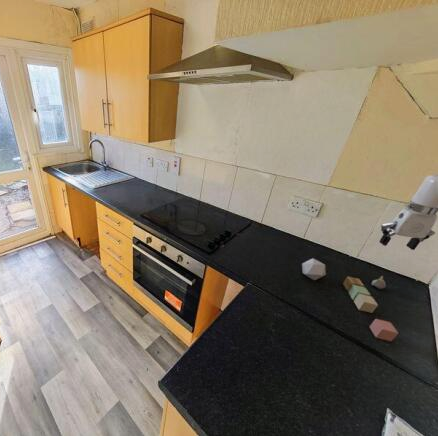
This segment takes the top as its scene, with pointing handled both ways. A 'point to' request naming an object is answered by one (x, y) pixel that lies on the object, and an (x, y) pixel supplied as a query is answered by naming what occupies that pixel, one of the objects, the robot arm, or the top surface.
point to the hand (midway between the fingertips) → (396, 245)
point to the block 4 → (383, 330)
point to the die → (313, 269)
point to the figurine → (379, 283)
